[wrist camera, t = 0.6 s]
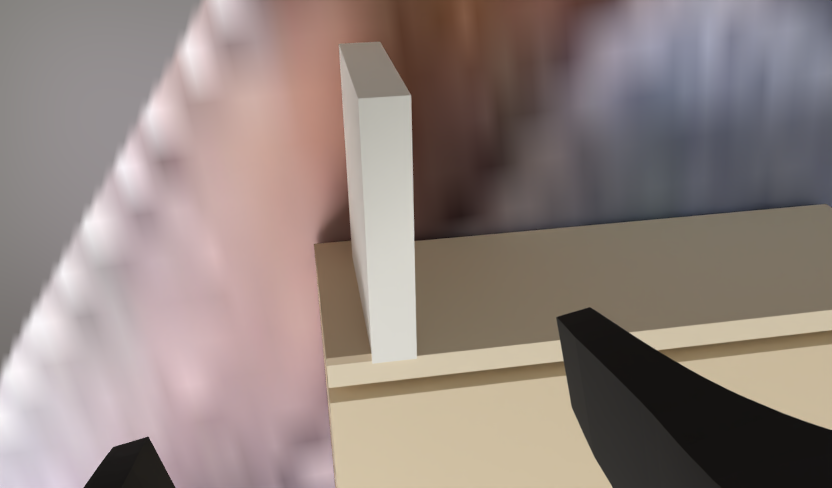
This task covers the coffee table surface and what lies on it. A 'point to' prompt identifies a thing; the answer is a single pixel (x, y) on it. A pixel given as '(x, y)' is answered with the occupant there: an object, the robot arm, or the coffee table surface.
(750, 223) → the cream block
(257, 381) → the coffee table surface
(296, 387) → the coffee table surface
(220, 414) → the coffee table surface
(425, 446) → the carton
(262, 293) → the coffee table surface
